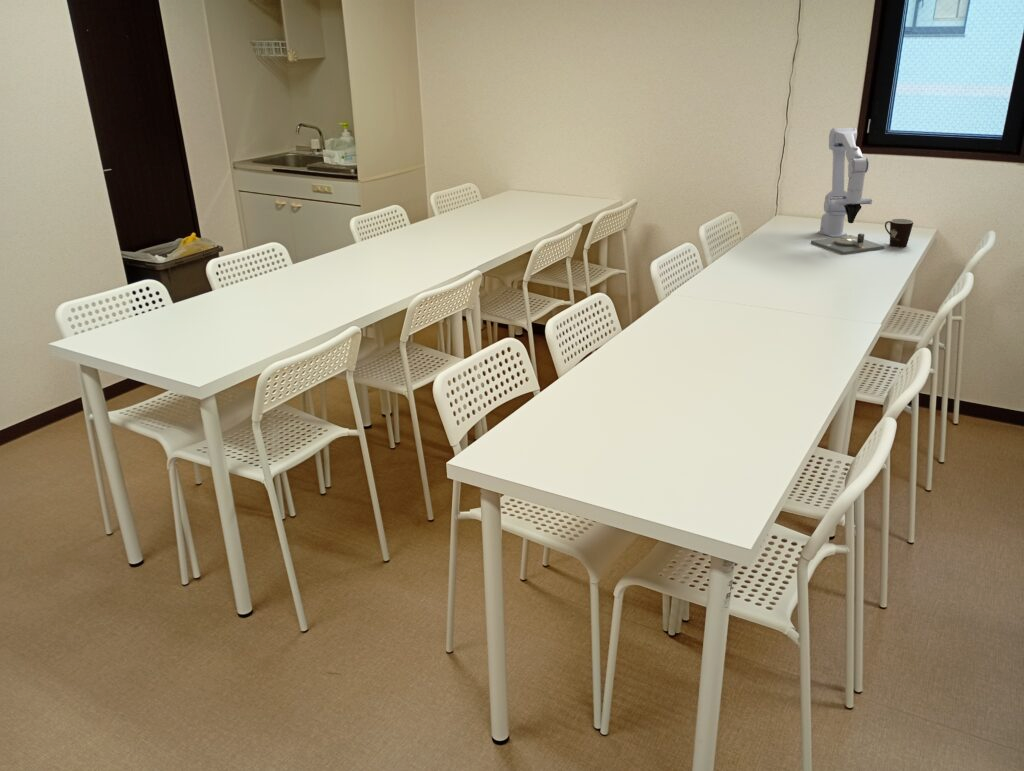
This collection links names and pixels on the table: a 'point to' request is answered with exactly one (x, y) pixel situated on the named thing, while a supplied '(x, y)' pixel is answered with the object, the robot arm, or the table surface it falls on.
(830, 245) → the panel
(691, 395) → the table surface
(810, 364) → the table surface
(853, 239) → the dial
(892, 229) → the coffee mug
